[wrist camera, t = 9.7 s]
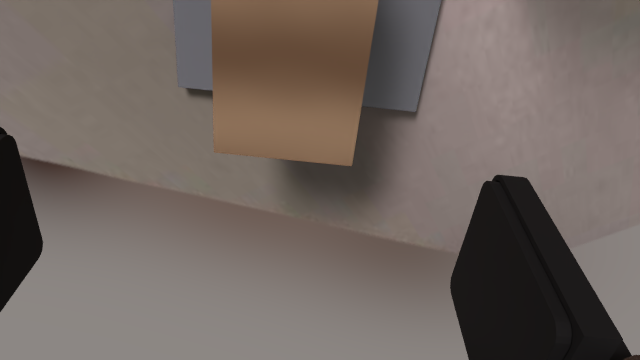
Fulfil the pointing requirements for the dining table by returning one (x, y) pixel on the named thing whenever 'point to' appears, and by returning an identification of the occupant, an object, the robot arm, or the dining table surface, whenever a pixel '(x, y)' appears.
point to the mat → (384, 61)
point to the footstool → (290, 77)
